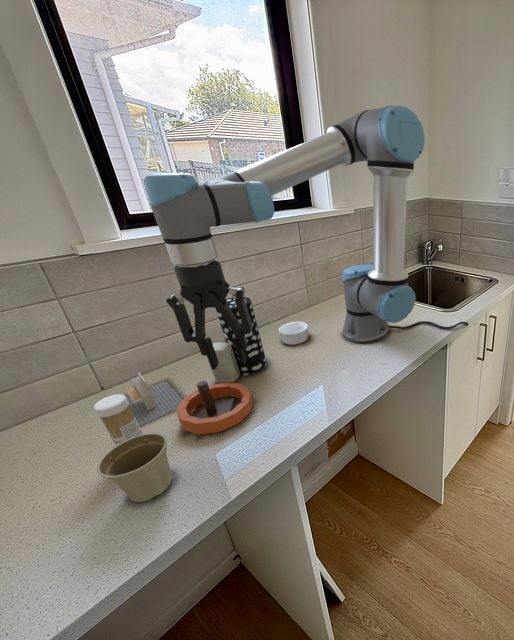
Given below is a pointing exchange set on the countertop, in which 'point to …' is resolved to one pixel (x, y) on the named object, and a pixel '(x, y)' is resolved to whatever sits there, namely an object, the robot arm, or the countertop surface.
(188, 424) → the ring
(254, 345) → the spotted tube
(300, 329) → the ramekin
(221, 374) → the pale small box
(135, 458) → the flower pot
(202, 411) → the stand
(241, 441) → the countertop surface
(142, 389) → the architectural model
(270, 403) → the countertop surface
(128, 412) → the sprinkles bottle
